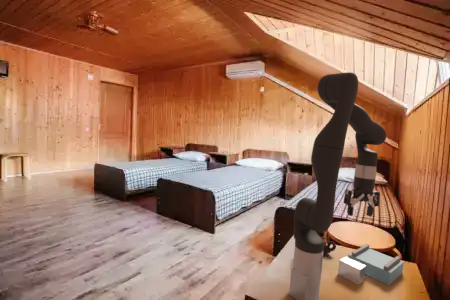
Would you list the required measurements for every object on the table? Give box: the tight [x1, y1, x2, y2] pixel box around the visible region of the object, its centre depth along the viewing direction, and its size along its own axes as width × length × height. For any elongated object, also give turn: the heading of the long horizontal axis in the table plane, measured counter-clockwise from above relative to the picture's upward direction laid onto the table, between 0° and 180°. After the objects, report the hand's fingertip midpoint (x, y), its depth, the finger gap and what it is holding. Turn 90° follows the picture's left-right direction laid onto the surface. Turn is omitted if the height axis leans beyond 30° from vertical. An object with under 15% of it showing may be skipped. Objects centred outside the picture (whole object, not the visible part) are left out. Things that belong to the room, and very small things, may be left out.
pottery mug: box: [320, 236, 337, 257], centre depth 121 cm, size 12×10×8 cm
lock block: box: [337, 256, 366, 285], centre depth 101 cm, size 5×8×6 cm, turn 39°
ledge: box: [347, 243, 405, 286], centre depth 108 cm, size 14×16×6 cm
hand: (359, 215), depth 106 cm, fingers open, 8 cm apart
